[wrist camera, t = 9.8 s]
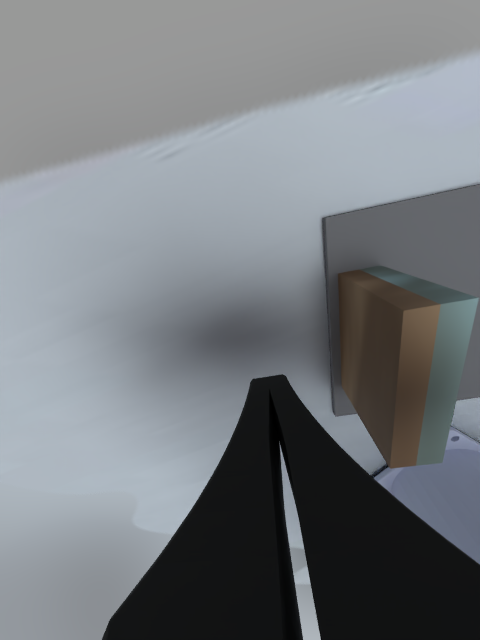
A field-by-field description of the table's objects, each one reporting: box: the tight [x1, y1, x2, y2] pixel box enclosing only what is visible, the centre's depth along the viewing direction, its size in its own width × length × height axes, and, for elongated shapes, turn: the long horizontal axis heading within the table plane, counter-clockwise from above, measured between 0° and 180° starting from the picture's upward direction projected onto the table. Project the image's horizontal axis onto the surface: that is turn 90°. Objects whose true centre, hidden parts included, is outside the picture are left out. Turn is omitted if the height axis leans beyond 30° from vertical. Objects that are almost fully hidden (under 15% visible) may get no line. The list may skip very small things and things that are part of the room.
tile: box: [338, 265, 479, 469], centre depth 10 cm, size 2×7×5 cm, turn 12°
